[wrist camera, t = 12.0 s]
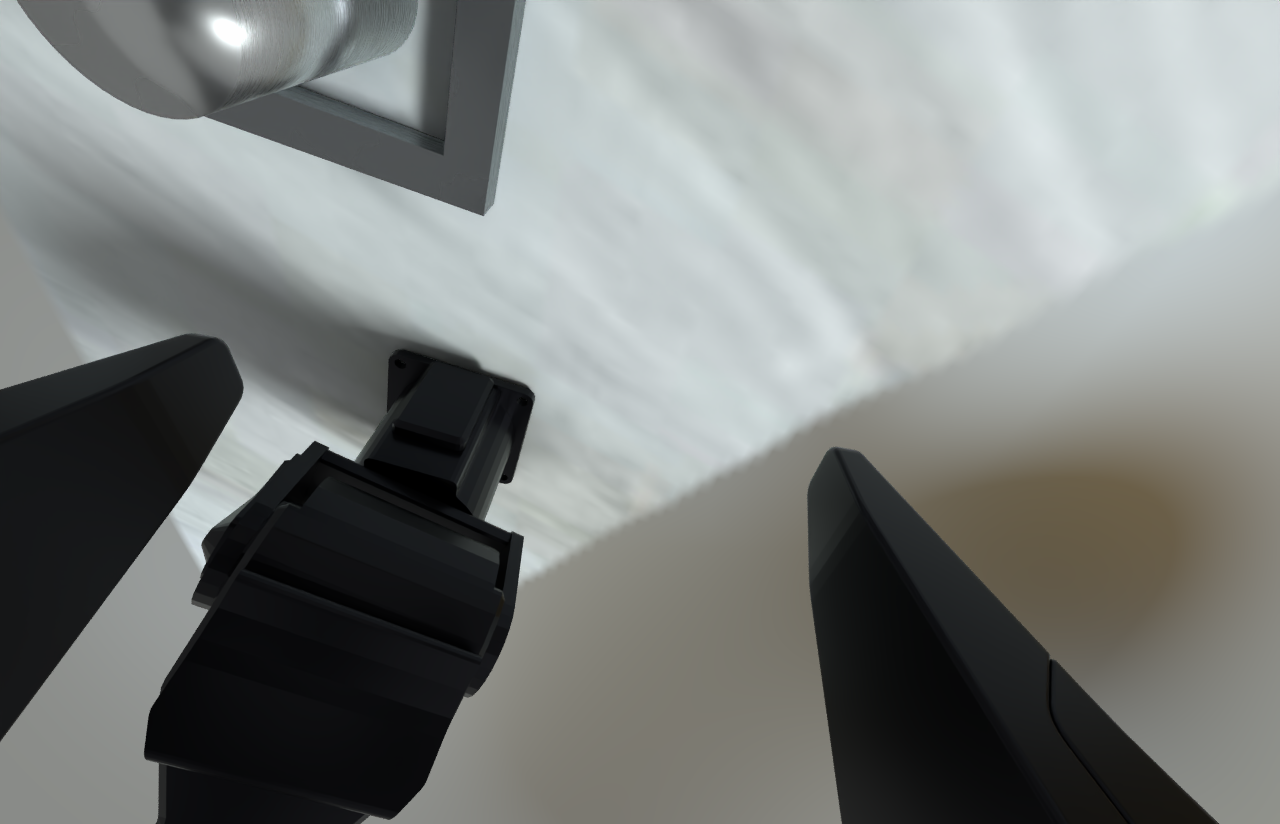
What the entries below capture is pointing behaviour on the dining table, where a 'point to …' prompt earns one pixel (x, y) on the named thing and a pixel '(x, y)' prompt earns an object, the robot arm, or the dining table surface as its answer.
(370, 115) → the plate
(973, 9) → the dining table surface
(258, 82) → the steel pin
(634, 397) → the dining table surface
